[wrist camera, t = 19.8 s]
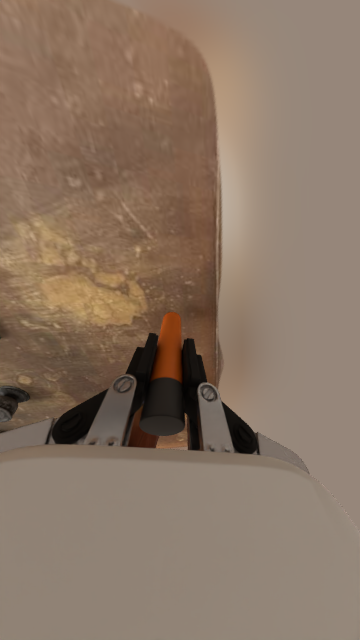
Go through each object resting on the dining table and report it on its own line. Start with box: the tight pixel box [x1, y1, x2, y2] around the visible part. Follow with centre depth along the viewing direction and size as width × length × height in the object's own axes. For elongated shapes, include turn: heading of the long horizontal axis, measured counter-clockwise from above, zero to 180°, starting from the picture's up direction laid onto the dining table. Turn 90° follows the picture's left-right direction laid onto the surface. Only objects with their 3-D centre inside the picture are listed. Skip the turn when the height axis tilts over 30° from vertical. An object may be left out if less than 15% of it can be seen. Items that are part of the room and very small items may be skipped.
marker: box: [139, 312, 185, 436], centre depth 11 cm, size 2×2×11 cm
